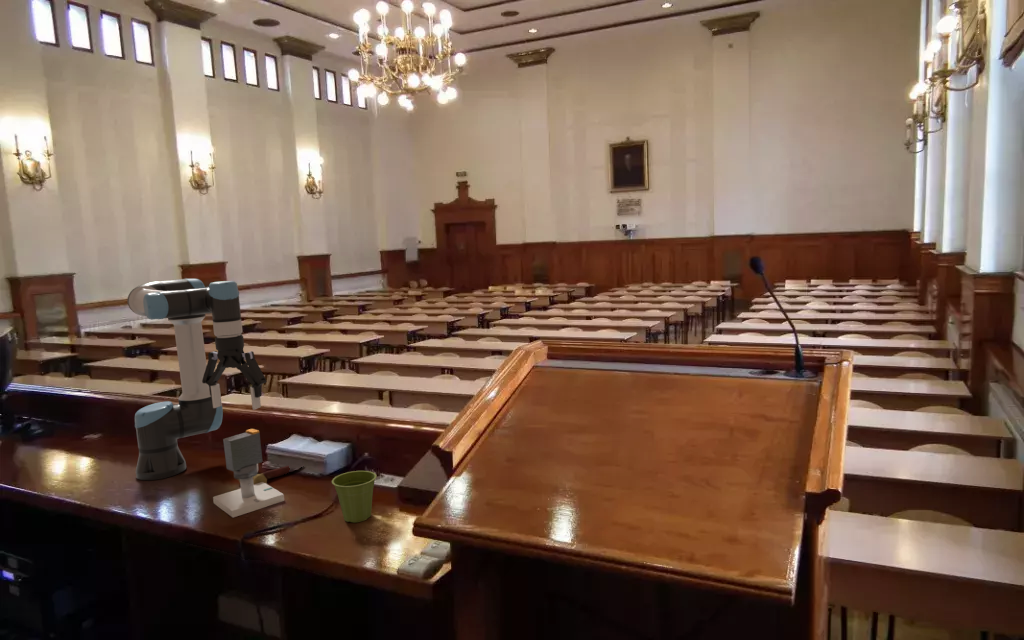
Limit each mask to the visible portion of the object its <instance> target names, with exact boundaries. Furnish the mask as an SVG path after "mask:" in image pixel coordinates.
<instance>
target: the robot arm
mask: <svg viewBox="0 0 1024 640" xmlns="http://www.w3.org/2000/svg"><path fill="white" fill-rule="evenodd" d="M126 302H127V305H128V308H129V309H130V310H131V312H133V313H134V314H136V315H138V316H141V317H146V318H147V319H148V320H164V319H167V320H168V321H169V322H170V323H171V324H172V325H173V329H174V336H175V344H176V345H175V346H176V353H177V359H178V361H177V362H178V367H179V376H180V383H181V390H182V391H181V394H180V396H178V397H177V398H178V403H177V404H174V403H173V402H172V401H168V400H167V401H166V400H165V401H162V402H160V401H159V402H155V403H152V404H148V405H146V406H144V407H142V408H139V409H138V410H137V411H136V412H135V414H134V428H135V430H136V439H137V448H138V458H137V462H136V463H137V464H136V468H135V476H136V479H137V480H140V481H155V480H156V481H157V480H163V479H166V478H170V477H173V476H176V475H178V474H181V473H182V472H185V470H186V469H187V463H186V459H185V457H184V455H183V453H182V452H181V450H180V447H179V446H178V439H183V438H186V437H190V436H195V435H196V436H197V435H200V434H208V433H209V432H212V431H216V430H218V429H220V427H221V425H222V422H223V414H224V413H223V412H224V411H223V404H222V403H223V402H222V397H221V396H222V395H221V387H220V386H221V385H220V383H219V382H218V381H219V380H220V378H221V377H222V375H223V374H224V372H225V370H226V369H229V368H232V369H237V370H239V371H240V373H242V375H243V376H244V377H245V379H247V381H248V382H249V383H250V384H251V386H250V387H249V388H250V390H249V391H250V397H251V406H252V407H251V408H252V410H257V409H259V408H261V407H262V406H261V405H262V403H261V397H262V394H263V393H262V385H263V384H266V383H267V379H266V377H265V375H264V374H263V373H264V372H262V370H261V367H260V365H259V364H258V362H257V360H256V358H255V357H256V356H255V353H254V351H247V352H245V351H244V348H245V341H244V335H243V334H242V333H243V332H244V331H243V323H242V314H241V303H240V291H239V288H238V283H237V281H235V280H223V281H214V282H210V283H209V285H208V286H205V284H204V282H203V281H202V280H201V279H199V278H182V279H181V278H180V279H172V280H171V279H169V280H160V281H159V280H158V281H150V282H145V283H142V284H140V285H138V286H136V287H134V288H133V289H131V291H130V292H129V294H128V296H127V301H126ZM206 314H211V317H212V325H213V326H212V327H213V334H214V336H215V338H214V342H215V343H214V344H215V350H213V351H211V352H208V356H207V357H208V361H207V359H206V358H207V357H206V350H205V341H204V334H203V323H202V322H203V320H204V319H205V318H206ZM218 361H219V362H218Z"/></svg>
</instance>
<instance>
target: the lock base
mask: <svg viewBox="0 0 1024 640" xmlns="http://www.w3.org/2000/svg"><path fill="white" fill-rule="evenodd" d="M239 483H240V484H239V485H240V488H238V489H235V490H232V491H227V492H225V493H221V494H218V495H215V496H213V497H212V500H213V504H214V505H215V506H217V508H219V509H220V510H222V511H224V513H226V514H227V515H229V516H230V517H231V518H236V517H238V516H242V515H245V514H247V513H248V514H249V513H251V512H254V511H257V510H260V509H263V508H266V507H269V506H272V505H275V504H278V503H281V502H284V501H285V495H284V493H282V491H281V492H280V491H279V490H278V489H276V488H274V487H272V486H271V485H269V484H268V483H264V482H260V483H257V484H254V483H253V477H251V478H247V479H240V482H239Z"/></svg>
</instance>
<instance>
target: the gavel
mask: <svg viewBox="0 0 1024 640" xmlns="http://www.w3.org/2000/svg"><path fill="white" fill-rule="evenodd" d="M289 470H290V468H289V465H286V466H282V467H279V468H278V467H277V468H275V469H271V470H270V469H269V470H267V471H263V472H262V473H257V475H256V476H254V477H253V483H254V484H257V483H260V482H264V483H266V484H268V483H267V482H268V480H270V479H273V478H277V477H281V476H285V475H288V474H289V473H288V472H289ZM287 473H288V474H287ZM284 474H285V475H284ZM237 481H238V482H239V483H240V479H237Z"/></svg>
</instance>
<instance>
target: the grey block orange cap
mask: <svg viewBox="0 0 1024 640" xmlns="http://www.w3.org/2000/svg"><path fill="white" fill-rule="evenodd" d="M222 440H223V449H224V457H225V465H226V470H228V471H231V472H233V478H234V479H235V480H238V479H247V478H251V477H254V476H256V475H257V474H258V472H257V464H258V465H259V464H260V463H263V462H264V461H263V453H262V446H261V434H260V430H259V429H255V428H250V429H246V430H245V432H242V433H239V434H235V435H232V436H228V437H226V438H223V439H222Z"/></svg>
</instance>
